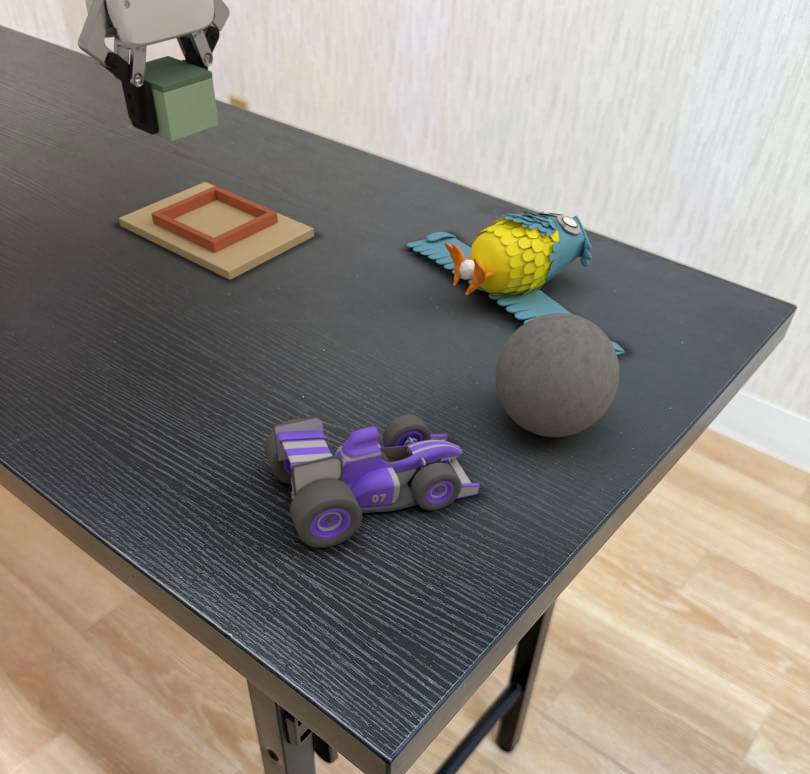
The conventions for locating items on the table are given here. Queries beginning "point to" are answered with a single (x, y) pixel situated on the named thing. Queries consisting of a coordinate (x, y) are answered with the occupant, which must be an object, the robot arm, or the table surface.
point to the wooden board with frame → (217, 229)
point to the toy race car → (362, 474)
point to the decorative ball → (557, 375)
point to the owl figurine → (514, 259)
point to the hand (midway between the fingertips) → (173, 118)
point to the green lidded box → (181, 97)
